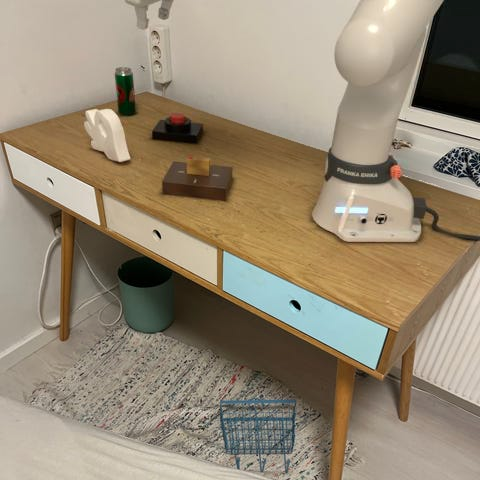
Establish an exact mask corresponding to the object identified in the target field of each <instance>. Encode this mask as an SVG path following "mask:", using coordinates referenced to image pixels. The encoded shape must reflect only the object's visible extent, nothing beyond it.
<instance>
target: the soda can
mask: <svg viewBox="0 0 480 480" xmlns="http://www.w3.org/2000/svg"><path fill="white" fill-rule="evenodd" d="M114 80H115V92H116V93H115V94H116V101H117V111H118V112H117V113H119V114H120V115H122V116H124V117H129V116H133V115H135V114H136V112H137V107H136V97H135V96H136V95H135V93H136V92H135V82H134V81H135V80H134V73H133V71H132V69H131V68H130V67H128V66H127V67H126V66H120V67H116V68H115V71H114Z"/></svg>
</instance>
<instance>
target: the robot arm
mask: <svg viewBox="0 0 480 480" xmlns="http://www.w3.org/2000/svg"><path fill="white" fill-rule="evenodd" d="M124 1H125V3H126V4H128V5H130V6H132V7H134V11H135V15H136V27H137V28H138V29H139V30H142V31H144V30H147V29H148V28H149V23H150V22H149V21H150V18H148V13H147V12H148V11H149V6H150V5H154V4H155V3H158V2H160V1H161V4H160V7H159V8H158V14H157V17H158V19H160V20H162V21H166V20H168V19H169V18H170V10H171V8H172V5H173V3H174V0H124ZM444 1H445V0H359V2H358V4H357V6H356V7H355V9H354V11H353V12H352V14H351V16H350V18H349V20H348V22H347V23H346V25H345V26H344V27H343V29H342V30H341V32H340V34H339V35H338V37H337V39H336V42H335V46H334V53H333V54H334V64H335V67H336V69H337V71H338V73H339V75H340V76H341V78H343V79H344V81H346V82H347V85H346V88H345V91H344V94H343V97H342V99H341V101H340V103H339V105H338V108H337V112H336V118H335V124H334V129H333V135H332V136H333V137H332V142H331V147H329V149H328V151H327V155H326V159H325V165H324V172H323V175H324V176H323V178H324V179H323V184H322V187H321V190H320V194H319V196H318V199H317V201H316V204H315V206H314V207H313V209H312V212H311V217H312V219H313V221H314V222H315V223H316V224H317V225H318V226H319V227H321V228H322V229H324V230H326V231H327V232H328V231H329V232H331V233H332V234H335V235H336V236H337V237H338V238H339V239H340V240H342V241H344V242H348V243H352V242H353V243H355V242H356V243H368V242H369V243H373V242H374V243H414V242H417V241H418V240H419V239H420V237H421V233H422V224H421V220H424V219H425V215H426V213H428V214H430V215H431V216H432V217H433V220H432V223H431V227H432V229H433V230H434V231H436V232H437V233H441V234H445V235H447V236H450V237H453V238H457V239H461V240H471V241H476V242H477V241H479V242H480V235H475V234H465V233H464V234H463V233H453V232H448V231H445V230H444V229H442V228H440V227H439V226H438V222H439V214H438V213H437V211H435V210H434V209H432V208H430V207H428V205H427V202H426V198H424V197H415V196H413V195H412V194H411V191H410V190H409V189H408V188H407V187H406V186H405V185H404V184H403V182H401V181H400V180H399V178H401V177H402V175H403V171H402V168H401V166H400V165H398V161H397V160H396V159H395V156H394V155H393V153H392V154H390V153H391V149H392V145H393V142H394V141H393V140H394V136H395V132H396V128H397V125H398V121H399V118H400V114H401V111H402V108H403V105H404V103H405V100H406V97H407V94H408V91H409V89H410V86H411V83H412V79H413V76H414V74H415V71H416V67H417V65H418V61H419V57H420V55H421V51H422V49H423V45H424V43H425V39H426V35H427V26H428V25H429V23H430V22H431V20H432V19H433V17H434V16H435V14H436V13H437V11H438V10H439V8H440V7H441V5H442V4H443V2H444Z"/></svg>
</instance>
